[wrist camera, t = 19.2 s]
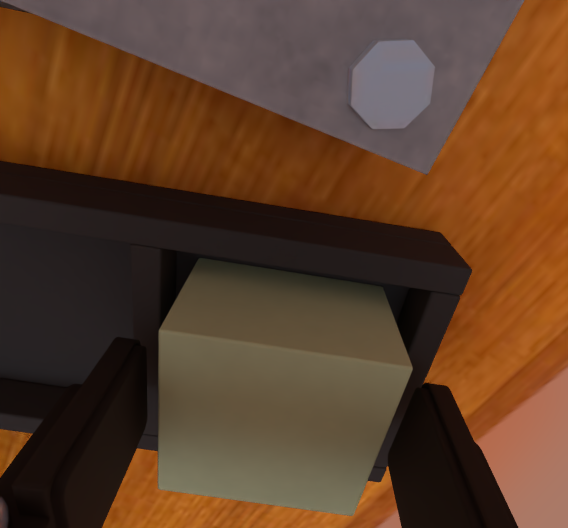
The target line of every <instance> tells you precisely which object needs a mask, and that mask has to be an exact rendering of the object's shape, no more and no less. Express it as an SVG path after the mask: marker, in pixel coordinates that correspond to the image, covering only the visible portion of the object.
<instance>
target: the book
mask: <svg viewBox="0 0 568 528" xmlns="http://www.w3.org/2000/svg"><path fill="white" fill-rule="evenodd" d="M523 2H524V0H0V7H4V8H8V9H13V10H18V11H22V12H27V13H31V14H35V15H37V16H40V17H42V18H45V19H47V20H50V21H52V22H55V23H57V24H59V25H62V26H64V27H67V28H69V29H72V30H74V31H76V32H79V33H81V34H84V35H86V36H89V37H91V38H94V39H96V40H98V41H101V42H103V43H106V44H108V45H111V46H113V47H116V48H118V49H120V50H123V51H125V52H128V53H130V54H133V55H135V56H138V57H140V58H142V59H145V60H147V61H150V62H152V63H155V64H157V65H160V66H162V67H164V68H167V69H169V70H172V71H174V72H177V73H179V74H182V75H184V76H186V77H189V78H191V79H194V80H196V81H199V82H201V83H204V84H206V85H208V86H211V87H213V88H216V89H218V90H221V91H223V92H226V93H228V94H230V95H233V96H235V97H238V98H240V99H243V100H245V101H248V102H250V103H252V104H255V105H257V106H260V107H262V108H265V109H267V110H270V111H272V112H274V113H277V114H279V115H282V116H284V117H287V118H289V119H292V120H294V121H296V122H299V123H301V124H304V125H306V126H309V127H311V128H314V129H316V130H318V131H321V132H323V133H326V134H328V135H331V136H333V137H335V138H338V139H340V140H343V141H345V142H348V143H350V144H353V145H355V146H357V147H360V148H362V149H365V150H367V151H370V152H372V153H375V154H377V155H379V156H382V157H384V158H387V159H389V160H392V161H394V162H397V163H399V164H401V165H404V166H406V167H409V168H411V169H414V170H416V171H419V172H421V173H423V174H426V175H427V174H428V172H429V171H430V169H431V167H432V165H433V163H434V162H435V160H436V158H437V156H438V155H439V153H440V151H441V149H442V147H443V146H444V144H445V142H446V140H447V138H448V137H449V135H450V133H451V131H452V129H453V128H454V126H455V124H456V122H457V120H458V119H459V117H460V115H461V113H462V111H463V110H464V108H465V106H466V104H467V102H468V101H469V99H470V97H471V95H472V93H473V92H474V90H475V88H476V86H477V84H478V83H479V81H480V79H481V77H482V75H483V74H484V72H485V70H486V68H487V66H488V65H489V63H490V61H491V59H492V57H493V56H494V54H495V52H496V50H497V48H498V47H499V45H500V43H501V41H502V40H503V38H504V36H505V34H506V32H507V31H508V29H509V27H510V25H511V23H512V22H513V20H514V18H515V16H516V14H517V13H518V11H519V9H520V7H521V5H522V4H523Z"/></svg>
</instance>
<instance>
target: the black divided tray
mask: <svg viewBox="0 0 568 528" xmlns="http://www.w3.org/2000/svg"><path fill="white" fill-rule="evenodd" d="M199 258H205V259H211V260H218V261H224V262H230V263H237V264H243V265H249V266H256V267H262V268H268V269H275V270H281V271H287V272H294V273H300V274H306V275H313V276H319V277H326V278H332V279H338V280H345V281H351V282H357V283H364V284H370V285H376V286H381V287H383V289H384V292H385V295H386V297H387V300H388V303H389V305H390V308H391V311H392V314H393V316H394V319H395V322H396V324H397V327H398V330H399V332H400V335H401V338H402V340H403V343H404V346H405V348H406V351H407V354H408V356H409V359H410V362H411V364H412V368H413V370H412V372H411V375H410V377H409V380H408V382H407V385H406V387H405V390H404V392H403V395H402V397H401V399H400V402H399V404H398V407H397V409H396V412H395V414H394V417H393V419H392V422H391V424H390V426H389V429H388V431H387V434H386V436H385V439H384V441H383V444H382V446H381V449H380V451H379V454H378V456H377V458H376V461H375V463H374V466H373V468H372V471H371V473H370V476H369V478H368V481H374V482H381V480H382V478H383V476H384V473H385V471H386V467H387V466H388V453H389V450H390V448H391V445H392V443H393V441H394V438H395V436H396V433H397V431H398V429H399V426H400V424H401V422H402V419H403V417H404V415H405V412H406V410H407V407H408V405H409V403H410V400H411V398H412V396H413V393H414V391H415V389H416V388H417V387H420V388H421V387H422V385H423V383H424V381H425V378H426V376H427V374H428V371H429V369H430V367H431V364H432V362H433V360H434V357H435V355H436V353H437V350H438V348H439V346H440V344H441V341H442V339H443V337H444V334H445V332H446V330H447V327H448V325H449V323H450V320H451V318H452V316H453V314H454V311H455V309H456V307H457V304H458V302H459V300H460V296H459V295H462V293H463V291H464V289H465V287H466V284H467V282H468V280H469V277H470V275H471V273H472V269H471V268H470V267H469V265H468V264H467V263H466V262H465V261H464V260H463V258H462V257H461V256H460V255H459V254H458V253H457V251H456V250H455V249H454V248H453V247H452V246H451V244H450V243H449V242H448V241H447V240H446V239H445V237H444V236H443V235H442V234H441V233H439V232H433V231H427V230H421V229H415V228H408V227H402V226H396V225H390V224H384V223H378V222H372V221H365V220H359V219H353V218H347V217H341V216H335V215H329V214H322V213H316V212H310V211H304V210H298V209H292V208H286V207H279V206H273V205H267V204H261V203H255V202H249V201H243V200H236V199H230V198H224V197H218V196H212V195H206V194H200V193H193V192H187V191H181V190H175V189H169V188H163V187H157V186H150V185H144V184H138V183H132V182H126V181H120V180H114V179H107V178H101V177H95V176H89V175H83V174H77V173H71V172H64V171H58V170H52V169H46V168H40V167H34V166H28V165H21V164H15V163H9V162H3V161H0V429H4V430H12V431H19V432H26V433H34V432H35V430H36V429H37V428H38V426H39V425H40V424H41V422H42V421H43V420H44V418H45V417H46V416H47V414H48V413H49V412H50V410H51V409H52V408H53V406H54V405H55V404H56V402H57V401H58V400H59V398H60V397H61V395H62V394H63V393H64V391H65V390H66V389H67V388H68V387H69V386H70V385H72V384H83V383H84V381H85V380H86V379H87V377H88V376H89V374H90V373H91V371H92V370H93V369H94V367H95V366H96V364H97V363H98V361H99V360H100V359H101V357H102V356H103V354H104V353H105V351H106V350H107V349H108V347H109V346H110V344H111V343H112V341H113V340H114V339H115V338H116V337H123V338H130V339H136V340H139V341H140V344H141V346H145V347H146V348H147V409H148V417H147V423H146V427H145V430H144V433H143V435H142V437H141V439H140V442H139V444H138V446H137V448H140V449H147V450H154V451H158V364H159V329H160V327H161V326H162V324H163V322H164V320H165V318H166V316H167V315H168V313H169V311H170V309H171V307H172V306H173V304H174V302H175V300H176V298H177V297H178V295H179V293H180V291H181V289H182V288H183V286H184V284H185V282H186V280H187V279H188V277H189V275H190V273H191V271H192V270H193V268H194V266H195V264H196V262H197V261H198V259H199Z"/></svg>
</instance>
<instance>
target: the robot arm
mask: <svg viewBox="0 0 568 528" xmlns="http://www.w3.org/2000/svg"><path fill="white" fill-rule="evenodd" d="M147 417H148V409H147V348H146V347H145V346H141V344H140V341H139V340H136V339H130V338H123V337H116V338H115V339H114V340H113V341H112V343H111V344H110V346H109V347H108V349H107V350H106V351H105V353H104V354H103V356H102V357H101V359H100V360H99V361H98V363H97V364H96V366H95V367H94V369H93V370H92V371H91V373H90V374H89V376H88V377H87V379H86V380H85V381H84V383H83V384H72V385H70V386H69V387H68V388H67V389H66V390H65V391H64V393H63V394H62V395H61V397H60V398H59V400H58V401H57V402H56V404H55V405H54V406H53V408H52V409H51V410H50V412H49V413H48V414H47V416H46V417H45V418H44V420H43V421H42V422H41V424H40V425H39V426H38V428H37V429H36V430H35V432H34V433H33V435H32V436H31V437H30V439H29V440H28V441H27V443H26V444H25V445H24V447H23V448H22V449H21V451H20V452H19V453H18V455H17V456H16V457H15V459H14V460H13V461H12V463H11V464H10V465H9V467H8V468H7V470H6V471H5V472H4V474H3V475H2V476H1V478H0V528H102V526H103V524H104V521H105V519H106V517H107V515H108V512H109V510H110V508H111V505H112V503H113V501H114V499H115V496H116V494H117V492H118V490H119V487H120V485H121V483H122V480H123V478H124V476H125V474H126V471H127V469H128V467H129V464H130V462H131V460H132V458H133V455H134V453H135V451H136V449H137V446H138V444H139V442H140V439H141V437H142V435H143V433H144V430H145V427H146V423H147ZM388 467H389V471H390V476H391V480H392V485H393V490H394V494H395V499H396V503H397V508H398V513H399V517H400V522H401V526H402V528H518V526H517V524H516V522H515V520H514V517H513V515H512V514H511V511H510V509H509V507H508V505H507V503H506V501H505V499H504V496H503V494H502V492H501V490H500V488H499V486H498V484H497V482H496V479H495V477H494V475H493V473H492V471H491V469H490V467H489V465H488V463H487V460H486V458H485V456H484V454H483V452H482V450H481V449H480V447H479V446H478V445H477V444H476V443H475V442H474V440H473V438H472V436H471V434H470V432H469V429H468V427H467V425H466V423H465V421H464V419H463V417H462V414H461V412H460V410H459V408H458V406H457V404H456V401H455V399H454V397H453V395H452V393H451V391H450V389H449V388H448V387H447V386H444V385H437V384H430V383H424V384H423V385H422V387H421V388H420V387H417V388H416V389H415V391H414V393H413V396H412V398H411V400H410V403H409V405H408V407H407V410H406V412H405V415H404V417H403V419H402V422H401V424H400V426H399V429H398V431H397V433H396V436H395V438H394V441H393V443H392V445H391V448H390V450H389V453H388Z"/></svg>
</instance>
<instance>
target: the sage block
mask: <svg viewBox="0 0 568 528" xmlns="http://www.w3.org/2000/svg"><path fill="white" fill-rule="evenodd" d="M412 370H413V368H412V364H411V362H410V359H409V356H408V354H407V351H406V348H405V346H404V343H403V340H402V338H401V335H400V332H399V330H398V327H397V324H396V322H395V319H394V316H393V314H392V311H391V308H390V305H389V303H388V300H387V297H386V295H385V292H384V289H383V287H381V286H376V285H370V284H364V283H357V282H351V281H345V280H338V279H332V278H326V277H319V276H313V275H306V274H300V273H294V272H287V271H281V270H275V269H268V268H262V267H256V266H249V265H243V264H237V263H230V262H224V261H218V260H211V259H205V258H199V259H198V261H197V262H196V264H195V266H194V268H193V270H192V271H191V273H190V275H189V277H188V279H187V280H186V282H185V284H184V286H183V288H182V289H181V291H180V293H179V295H178V297H177V298H176V300H175V302H174V304H173V306H172V307H171V309H170V311H169V313H168V315H167V316H166V318H165V320H164V322H163V324H162V326H161V327H160V329H159V364H158V489H160V490H167V491H174V492H181V493H189V494H196V495H203V496H211V497H218V498H225V499H232V500H240V501H247V502H254V503H261V504H269V505H276V506H283V507H290V508H298V509H305V510H312V511H320V512H327V513H334V514H341V515H349V516H353V515H354V513H355V510H356V508H357V505H358V503H359V500H360V498H361V495H362V493H363V490H364V488H365V485H366V483H367V481H368V478H369V476H370V473H371V471H372V468H373V466H374V463H375V461H376V458H377V456H378V454H379V451H380V449H381V446H382V444H383V441H384V439H385V436H386V434H387V431H388V429H389V426H390V424H391V422H392V419H393V417H394V414H395V412H396V409H397V407H398V404H399V402H400V399H401V397H402V395H403V392H404V390H405V387H406V385H407V382H408V380H409V377H410V375H411V372H412Z"/></svg>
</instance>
